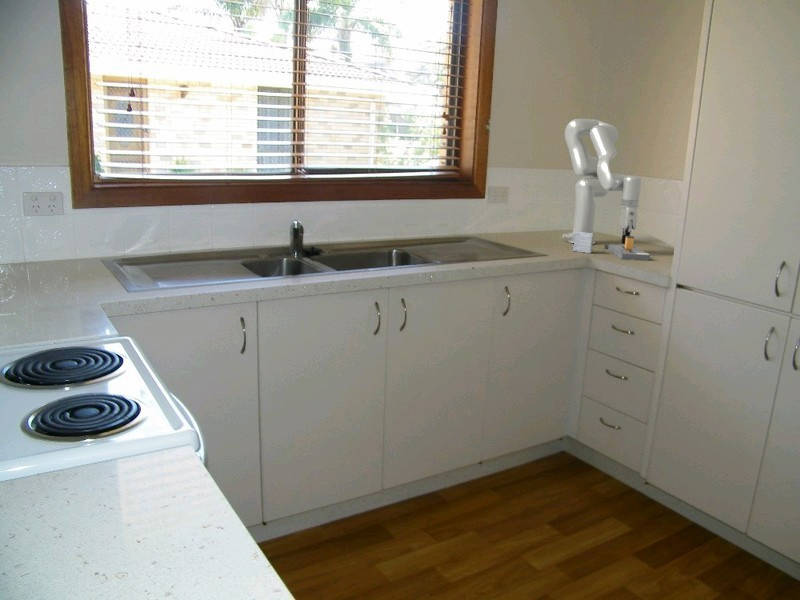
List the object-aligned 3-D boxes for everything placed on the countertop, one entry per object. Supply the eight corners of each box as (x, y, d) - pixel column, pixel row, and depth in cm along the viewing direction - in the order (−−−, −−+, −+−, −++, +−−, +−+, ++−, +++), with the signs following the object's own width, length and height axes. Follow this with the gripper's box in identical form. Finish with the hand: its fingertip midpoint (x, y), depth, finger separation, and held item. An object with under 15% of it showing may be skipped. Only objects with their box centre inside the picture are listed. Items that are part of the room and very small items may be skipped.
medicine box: (592, 252, 321) (594, 233, 319) (590, 253, 317) (592, 234, 315) (574, 250, 324) (576, 231, 322) (572, 251, 320) (574, 232, 318)
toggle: (625, 253, 317) (627, 236, 315) (624, 252, 319) (626, 235, 317) (632, 254, 316) (634, 236, 315) (630, 253, 319) (632, 236, 317)
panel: (621, 259, 306) (622, 253, 306) (608, 249, 330) (608, 244, 329) (649, 260, 306) (650, 254, 305) (633, 250, 329) (634, 245, 329)
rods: (606, 249, 330) (606, 245, 330) (604, 247, 334) (604, 244, 334) (636, 250, 330) (636, 247, 330) (633, 249, 334) (634, 245, 333)
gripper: (642, 205, 312) (638, 246, 316) (633, 202, 326) (629, 241, 331) (625, 205, 312) (621, 246, 316) (617, 201, 326) (612, 241, 331)
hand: (625, 243), depth 323 cm, fingers closed
